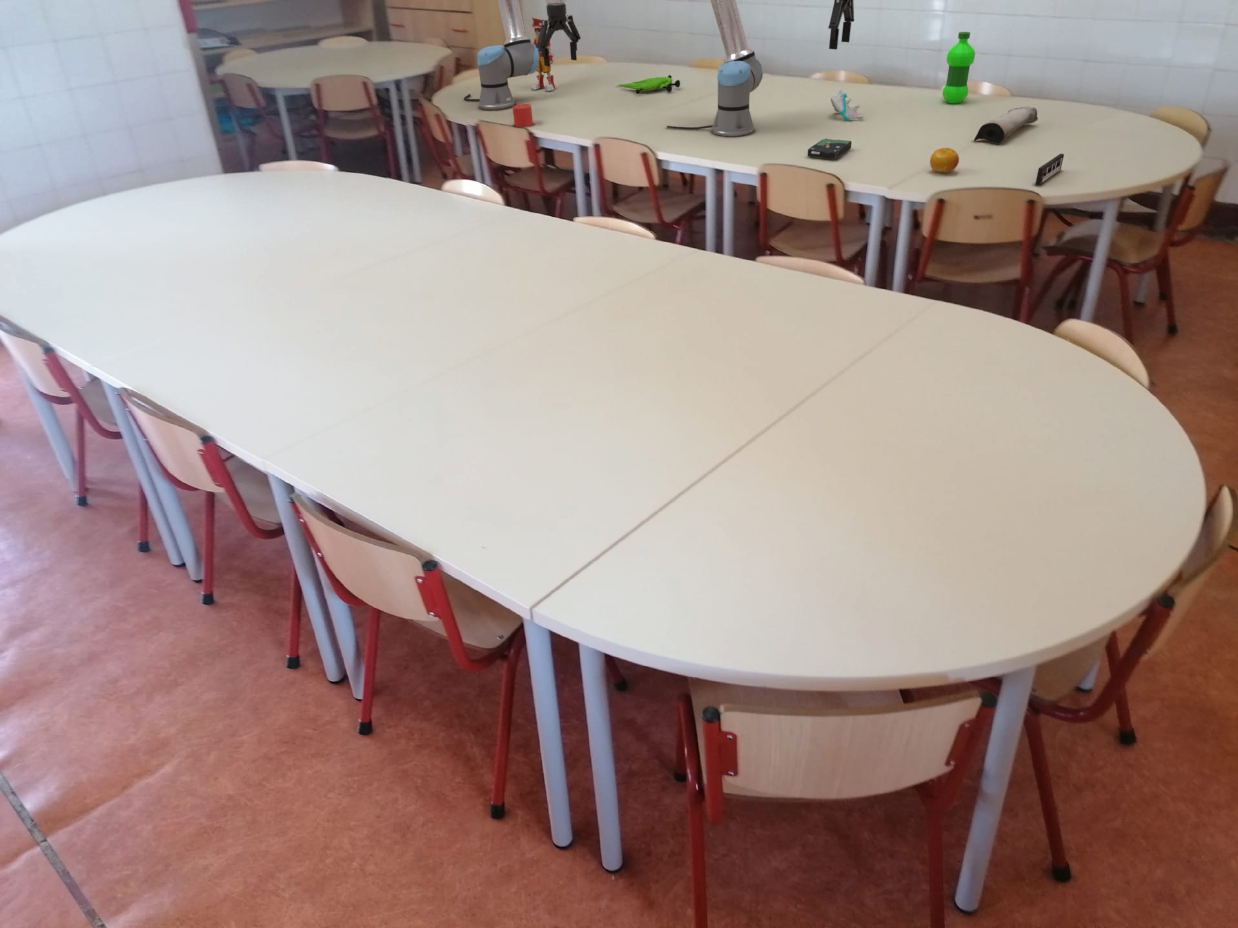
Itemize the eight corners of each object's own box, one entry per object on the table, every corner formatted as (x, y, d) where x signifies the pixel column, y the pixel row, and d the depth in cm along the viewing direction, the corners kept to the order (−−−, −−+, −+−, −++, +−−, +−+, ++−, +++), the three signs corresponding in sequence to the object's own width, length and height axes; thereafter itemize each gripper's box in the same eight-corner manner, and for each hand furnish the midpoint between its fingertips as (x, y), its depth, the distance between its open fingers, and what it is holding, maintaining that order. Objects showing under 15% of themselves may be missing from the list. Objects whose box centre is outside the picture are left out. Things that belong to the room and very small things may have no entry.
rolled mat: (1005, 112, 327) (1029, 94, 319) (1019, 133, 327) (1043, 116, 319) (969, 134, 310) (993, 117, 301) (984, 157, 310) (1008, 139, 302)
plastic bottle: (973, 101, 354) (984, 32, 339) (955, 106, 349) (966, 36, 335) (952, 97, 361) (962, 29, 346) (934, 102, 356) (944, 33, 342)
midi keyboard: (1039, 185, 269) (1043, 168, 266) (1035, 184, 270) (1038, 168, 267) (1060, 170, 279) (1064, 154, 277) (1056, 169, 280) (1060, 153, 277)
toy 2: (689, 81, 403) (635, 80, 419) (688, 69, 400) (634, 69, 416) (655, 100, 386) (600, 99, 403) (654, 88, 383) (598, 87, 400)
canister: (511, 127, 359) (509, 108, 355) (518, 122, 365) (516, 104, 361) (529, 127, 357) (527, 108, 353) (535, 122, 363) (533, 104, 359)
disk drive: (836, 161, 300) (851, 148, 310) (836, 152, 298) (852, 140, 308) (806, 157, 305) (822, 145, 315) (807, 149, 303) (823, 137, 313)
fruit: (924, 163, 281) (941, 140, 278) (925, 165, 289) (941, 143, 286) (946, 178, 280) (963, 155, 277) (947, 180, 288) (963, 158, 285)
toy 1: (527, 91, 410) (520, 18, 393) (536, 86, 417) (529, 15, 400) (551, 91, 406) (544, 19, 389) (559, 87, 413) (553, 15, 396)
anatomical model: (825, 90, 346) (851, 83, 346) (828, 117, 352) (853, 110, 352) (836, 99, 334) (863, 92, 333) (839, 127, 340) (865, 120, 339)
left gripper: (536, 9, 336) (541, 70, 348) (586, 0, 349) (590, 58, 361) (524, 7, 341) (530, 67, 353) (574, -2, 354) (578, 56, 366)
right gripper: (845, -17, 296) (838, 53, 308) (867, -26, 314) (860, 40, 326) (823, -17, 299) (817, 51, 311) (846, -27, 317) (840, 38, 329)
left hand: (560, 63), depth 357 cm, fingers open, 13 cm apart
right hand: (839, 45), depth 319 cm, fingers open, 13 cm apart
